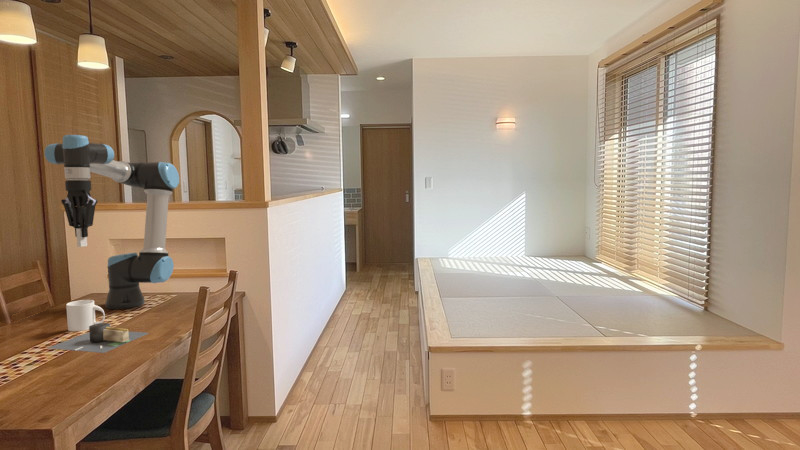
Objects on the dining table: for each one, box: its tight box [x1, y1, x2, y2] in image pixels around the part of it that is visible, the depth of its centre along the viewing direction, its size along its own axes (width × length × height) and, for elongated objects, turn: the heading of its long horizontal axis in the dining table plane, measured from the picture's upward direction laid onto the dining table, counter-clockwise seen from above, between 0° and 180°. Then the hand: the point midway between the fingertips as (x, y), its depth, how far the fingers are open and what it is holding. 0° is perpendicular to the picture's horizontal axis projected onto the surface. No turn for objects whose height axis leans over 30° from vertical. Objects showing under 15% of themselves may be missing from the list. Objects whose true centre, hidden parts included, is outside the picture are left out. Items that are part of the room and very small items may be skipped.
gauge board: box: [47, 330, 149, 354], centre depth 161 cm, size 20×22×1 cm
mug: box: [65, 299, 106, 332], centre depth 175 cm, size 9×12×11 cm
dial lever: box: [88, 322, 130, 343], centre depth 160 cm, size 15×6×5 cm, turn 74°
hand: (82, 246), depth 168 cm, fingers closed
